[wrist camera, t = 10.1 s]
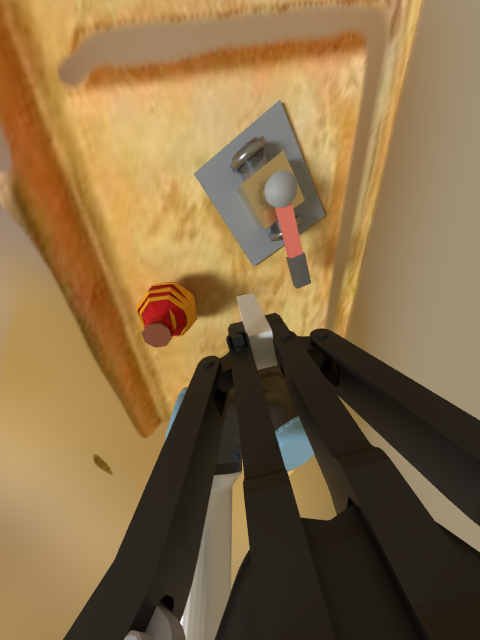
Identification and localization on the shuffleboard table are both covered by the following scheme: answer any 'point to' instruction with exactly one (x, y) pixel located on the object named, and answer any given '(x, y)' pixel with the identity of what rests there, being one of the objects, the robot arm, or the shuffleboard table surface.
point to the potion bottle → (166, 313)
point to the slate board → (225, 182)
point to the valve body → (261, 184)
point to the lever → (288, 223)
